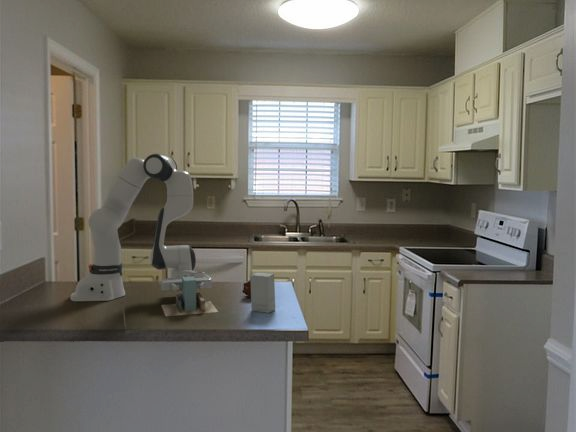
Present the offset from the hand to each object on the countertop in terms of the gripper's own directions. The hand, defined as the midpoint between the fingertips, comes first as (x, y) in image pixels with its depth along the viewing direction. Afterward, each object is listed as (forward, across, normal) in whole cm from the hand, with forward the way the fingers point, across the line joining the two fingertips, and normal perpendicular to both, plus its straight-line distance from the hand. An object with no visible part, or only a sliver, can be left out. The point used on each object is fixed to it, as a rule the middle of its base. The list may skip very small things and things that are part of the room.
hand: (189, 287), depth 195 cm
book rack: (-1, 0, +10) cm, 10 cm away
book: (-1, 0, +8) cm, 9 cm away
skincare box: (+7, +28, +10) cm, 30 cm away
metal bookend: (-1, -4, +8) cm, 9 cm away
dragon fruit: (-15, +30, +10) cm, 35 cm away
